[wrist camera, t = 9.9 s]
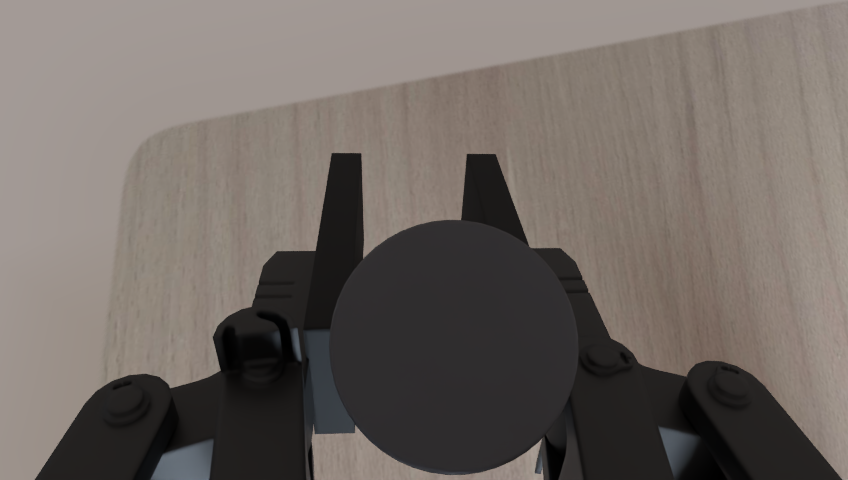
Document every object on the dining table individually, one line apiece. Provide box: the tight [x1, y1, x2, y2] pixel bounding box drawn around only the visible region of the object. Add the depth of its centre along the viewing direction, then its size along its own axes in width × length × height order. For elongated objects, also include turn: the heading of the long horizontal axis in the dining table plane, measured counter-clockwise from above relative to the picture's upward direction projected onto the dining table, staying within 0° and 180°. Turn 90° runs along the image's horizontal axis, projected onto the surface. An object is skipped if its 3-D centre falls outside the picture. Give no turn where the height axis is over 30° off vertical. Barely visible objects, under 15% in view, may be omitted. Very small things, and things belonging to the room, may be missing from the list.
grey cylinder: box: [329, 220, 578, 475], centre depth 12 cm, size 3×3×12 cm
